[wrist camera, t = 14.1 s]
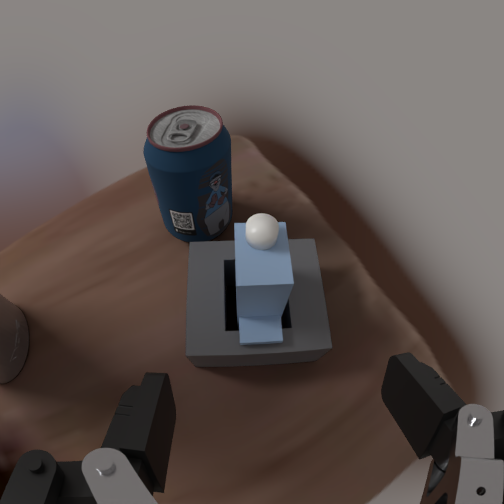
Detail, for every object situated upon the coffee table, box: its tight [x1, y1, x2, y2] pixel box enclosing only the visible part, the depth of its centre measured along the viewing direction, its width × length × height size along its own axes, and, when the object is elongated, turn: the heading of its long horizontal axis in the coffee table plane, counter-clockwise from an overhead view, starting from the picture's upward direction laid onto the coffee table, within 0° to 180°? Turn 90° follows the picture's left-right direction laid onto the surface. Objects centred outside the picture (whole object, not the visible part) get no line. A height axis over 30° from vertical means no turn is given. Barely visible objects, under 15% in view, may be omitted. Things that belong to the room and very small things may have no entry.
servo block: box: [234, 213, 294, 345], centre depth 21 cm, size 8×3×12 cm, turn 3°
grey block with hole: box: [186, 239, 332, 367], centre depth 24 cm, size 10×9×5 cm
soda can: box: [144, 106, 232, 242], centre depth 26 cm, size 7×7×12 cm
